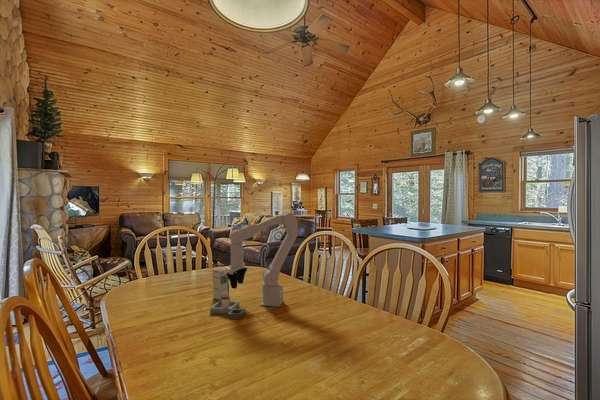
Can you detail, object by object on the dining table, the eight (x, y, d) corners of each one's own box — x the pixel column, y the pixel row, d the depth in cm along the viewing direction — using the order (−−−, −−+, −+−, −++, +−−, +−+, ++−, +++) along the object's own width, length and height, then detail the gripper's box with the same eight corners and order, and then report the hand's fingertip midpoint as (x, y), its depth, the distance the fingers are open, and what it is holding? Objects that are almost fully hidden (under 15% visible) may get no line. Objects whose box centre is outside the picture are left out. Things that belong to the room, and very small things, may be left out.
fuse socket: (245, 314, 133) (245, 309, 133) (240, 319, 127) (240, 314, 127) (233, 313, 134) (233, 308, 134) (227, 318, 128) (227, 313, 128)
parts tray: (239, 307, 141) (239, 301, 141) (230, 315, 132) (230, 309, 132) (219, 305, 143) (219, 300, 143) (210, 313, 133) (210, 307, 133)
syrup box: (220, 300, 151) (219, 270, 150) (212, 297, 154) (212, 269, 154) (229, 297, 155) (228, 268, 155) (221, 294, 159) (221, 266, 158)
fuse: (230, 307, 139) (229, 291, 138) (226, 310, 135) (226, 294, 135) (223, 306, 139) (223, 291, 139) (220, 309, 136) (220, 293, 136)
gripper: (235, 253, 150) (235, 281, 150) (222, 259, 136) (222, 290, 136) (248, 253, 148) (249, 281, 149) (237, 260, 134) (237, 291, 134)
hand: (237, 285), depth 142 cm, fingers open, 7 cm apart
